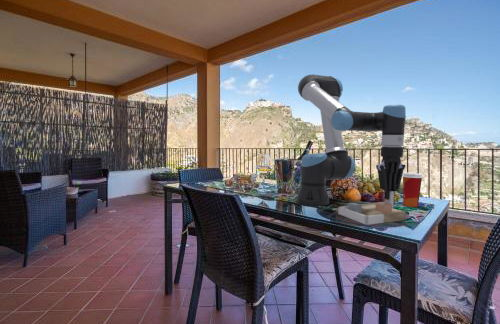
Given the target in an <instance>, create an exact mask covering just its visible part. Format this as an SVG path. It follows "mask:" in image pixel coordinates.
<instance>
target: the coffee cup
mask: <svg viewBox="0 0 500 324" xmlns="http://www.w3.org/2000/svg"><path fill="white" fill-rule="evenodd" d="M422 180H423V175H422V173H417V172H416V173H415V172H403V174H402V206H404V207H409V208H418V207H419V202H420V196H421V188H422V182H423V181H422Z"/></svg>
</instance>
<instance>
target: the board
mask: <svg viewBox="0 0 500 324" xmlns="http://www.w3.org/2000/svg"><path fill="white" fill-rule="evenodd" d="M361 205H362V206H361V214H364V215H367V216H370V215H379V214H383V215H384V222H383V223H382V224H384V223H385V224H386V223H392V222H394V223H395V222H399V221H405V220H406V218H407V217H406V216H407V214H406V211H403V210H400V209H396V208H394V207H393V208H392V212H387V213H383V212H380V211H376V210H375V208H376V202H375V203H373V202H372V203H363V204H362V203H361Z"/></svg>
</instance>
